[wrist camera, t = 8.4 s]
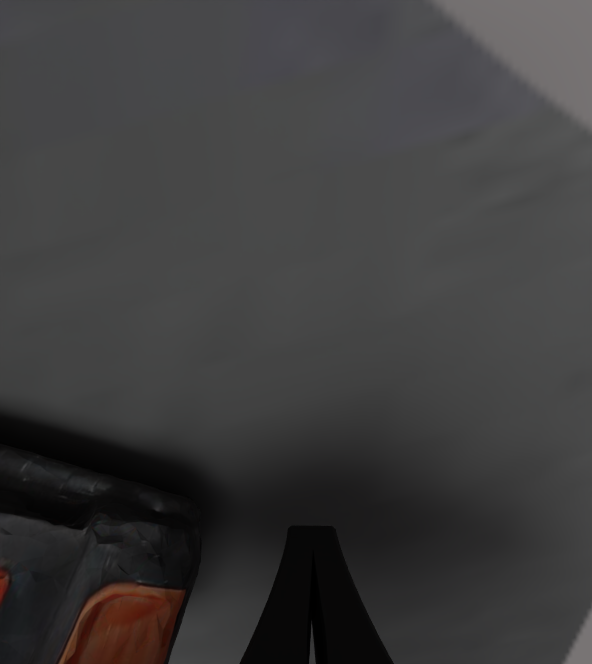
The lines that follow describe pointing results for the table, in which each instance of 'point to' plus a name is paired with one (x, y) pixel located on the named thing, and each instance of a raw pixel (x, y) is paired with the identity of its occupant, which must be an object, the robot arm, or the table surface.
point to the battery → (90, 564)
